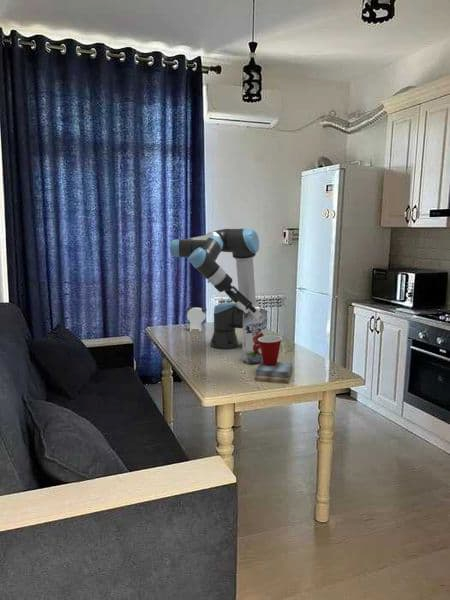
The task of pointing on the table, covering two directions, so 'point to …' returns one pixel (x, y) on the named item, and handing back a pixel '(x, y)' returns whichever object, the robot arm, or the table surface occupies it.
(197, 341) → the table surface
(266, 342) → the plastic cup
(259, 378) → the build plate
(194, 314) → the white rounded piece
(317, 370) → the table surface
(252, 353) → the juice carton
